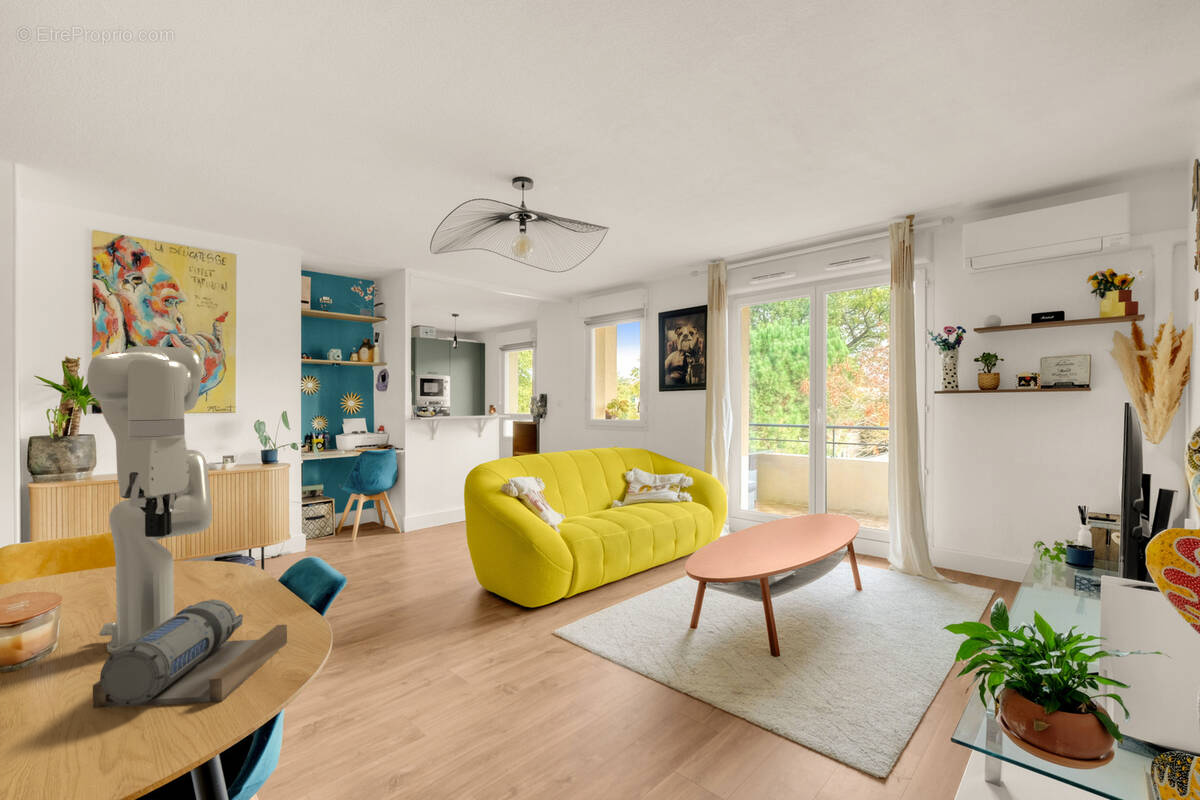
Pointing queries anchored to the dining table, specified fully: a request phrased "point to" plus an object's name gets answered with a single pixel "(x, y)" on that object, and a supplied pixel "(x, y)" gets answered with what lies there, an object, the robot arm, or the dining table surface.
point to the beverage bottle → (167, 651)
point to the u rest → (212, 673)
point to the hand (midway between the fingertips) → (158, 535)
